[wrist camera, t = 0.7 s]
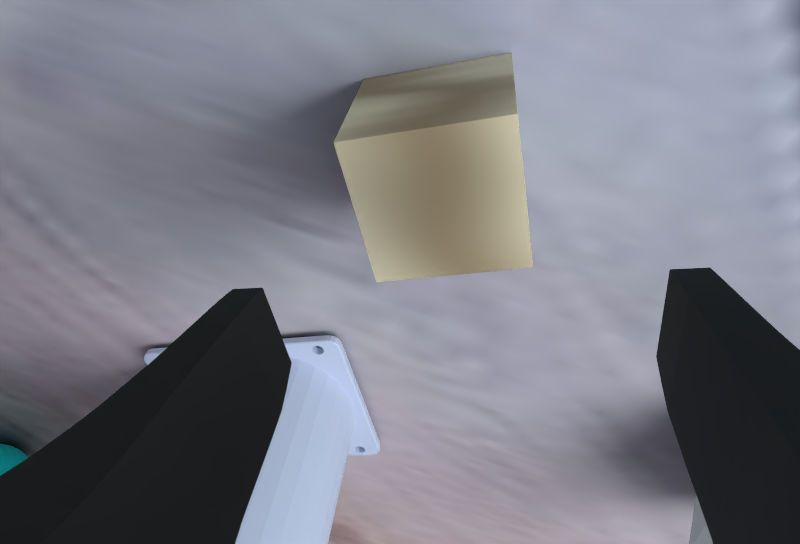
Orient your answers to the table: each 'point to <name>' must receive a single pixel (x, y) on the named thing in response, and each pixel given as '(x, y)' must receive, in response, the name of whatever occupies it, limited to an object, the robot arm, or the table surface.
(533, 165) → the table surface
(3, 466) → the donuts
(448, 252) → the beech cube
